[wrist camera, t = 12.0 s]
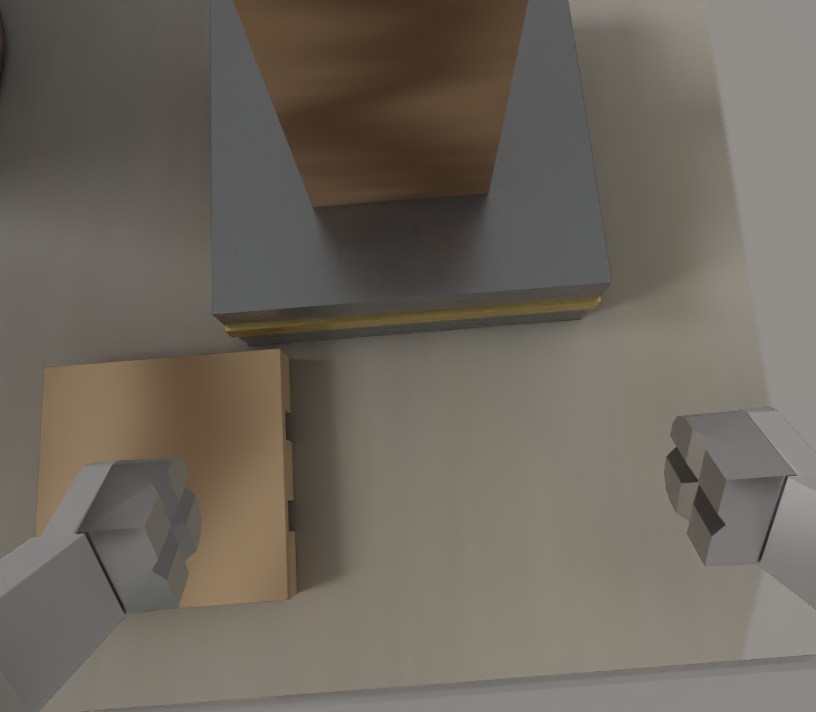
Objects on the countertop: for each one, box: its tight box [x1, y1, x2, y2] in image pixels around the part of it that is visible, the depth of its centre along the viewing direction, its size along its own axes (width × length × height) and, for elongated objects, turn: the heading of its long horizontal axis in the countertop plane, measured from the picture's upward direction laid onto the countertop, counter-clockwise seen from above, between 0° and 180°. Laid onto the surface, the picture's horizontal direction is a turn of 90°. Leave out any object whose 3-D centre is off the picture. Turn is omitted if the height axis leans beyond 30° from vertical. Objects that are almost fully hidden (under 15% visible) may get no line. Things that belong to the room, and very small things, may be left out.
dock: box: [210, 0, 612, 346], centre depth 22 cm, size 12×12×4 cm
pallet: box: [35, 349, 297, 609], centre depth 21 cm, size 8×8×2 cm
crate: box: [233, 0, 528, 207], centre depth 16 cm, size 6×6×10 cm
